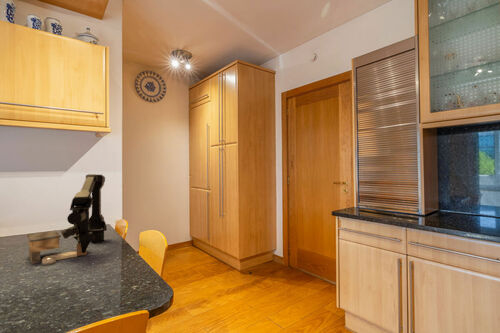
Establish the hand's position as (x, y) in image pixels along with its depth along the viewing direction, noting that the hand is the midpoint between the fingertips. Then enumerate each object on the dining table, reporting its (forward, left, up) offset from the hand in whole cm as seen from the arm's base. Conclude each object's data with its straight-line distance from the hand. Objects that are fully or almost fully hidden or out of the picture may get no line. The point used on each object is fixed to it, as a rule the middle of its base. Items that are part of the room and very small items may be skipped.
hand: (82, 251), depth 125 cm
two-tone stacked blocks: (+6, -2, -1) cm, 7 cm away
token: (+13, +2, -2) cm, 14 cm away
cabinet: (+14, -10, -2) cm, 17 cm away
